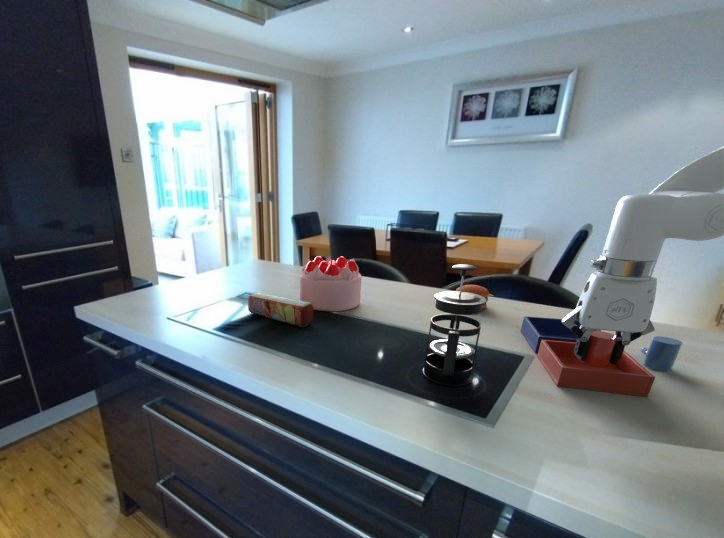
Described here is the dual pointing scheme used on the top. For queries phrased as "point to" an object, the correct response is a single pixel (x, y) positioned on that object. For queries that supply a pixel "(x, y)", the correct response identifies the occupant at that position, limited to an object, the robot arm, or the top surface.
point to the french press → (453, 336)
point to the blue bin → (546, 331)
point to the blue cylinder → (661, 353)
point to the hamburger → (476, 292)
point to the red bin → (593, 371)
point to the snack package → (281, 309)
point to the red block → (600, 349)
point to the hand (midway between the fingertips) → (595, 358)
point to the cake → (330, 284)
